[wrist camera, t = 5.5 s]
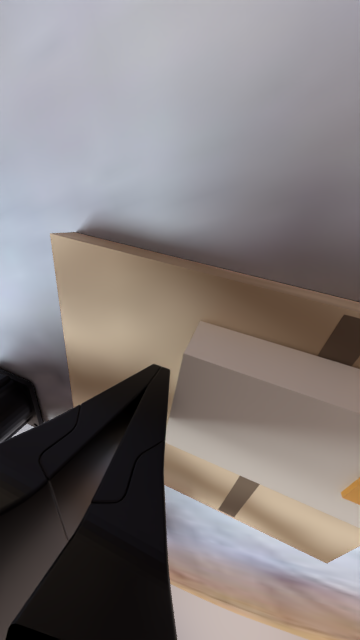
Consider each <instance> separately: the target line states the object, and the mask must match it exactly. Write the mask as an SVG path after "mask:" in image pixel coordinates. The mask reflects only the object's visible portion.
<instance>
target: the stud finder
mask: <svg viewBox="0 0 360 640" xmlns="http://www.w3.org/2000/svg"><path fill="white" fill-rule="evenodd" d="M165 443H167V444H170V445H172V446H174V447H176V448H179V449H181V450H183V451H185V452H188V453H190V454H192V455H194V456H197V457H199V458H201V459H204V460H206V461H208V462H210V463H213V464H215V465H217V466H219V467H222V468H224V469H226V470H229V471H231V472H233V473H235V474H238V475H240V476H242V477H244V478H247V479H249V480H251V481H254V482H256V483H258V484H260V485H263V486H265V487H267V488H269V489H272V490H274V491H276V492H279V493H281V494H283V495H285V496H288V497H290V498H292V499H294V500H297V501H299V502H301V503H304V504H306V505H308V506H310V507H313V508H315V509H317V510H319V511H322V512H324V513H326V514H328V515H331V516H333V517H335V518H338V519H340V520H342V521H344V522H347V523H349V524H351V525H353V526H356V527H358V528H360V369H358V368H355V367H351V366H348V365H345V364H342V363H338V362H335V361H332V360H328V359H325V358H322V357H318V356H315V355H312V354H309V353H305V352H302V351H299V350H295V349H292V348H289V347H285V346H282V345H279V344H276V343H272V342H269V341H266V340H262V339H259V338H256V337H253V336H249V335H246V334H243V333H239V332H236V331H233V330H229V329H226V328H223V327H220V326H216V325H213V324H210V323H206V322H203V321H200V322H199V324H198V326H197V328H196V330H195V332H194V334H193V336H192V338H191V340H190V342H189V344H188V346H187V348H186V350H185V352H184V354H183V358H182V363H181V367H180V371H179V376H178V380H177V385H176V389H175V393H174V398H173V402H172V407H171V411H170V415H169V420H168V424H167V428H166V440H165Z"/></svg>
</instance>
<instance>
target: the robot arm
mask: <svg viewBox="0 0 360 640" xmlns="http://www.w3.org/2000/svg"><path fill="white" fill-rule="evenodd" d="M169 384H170V369H168V368H165V367H162V366H159V365H157V364H152V365H150V366H148V367H147V368H145V369H143V370H141V371H139V372H137V373H136V374H134V375H132V376H130V377H128V378H127V379H125V380H123V381H121V382H119V383H118V384H116V385H114V386H112V387H110V388H109V389H107V390H105V391H103V392H101V393H100V394H98V395H96V396H94V397H92V398H91V399H89V400H87V401H85V402H83V403H82V404H81V405H78V406H76V407H74V408H72V409H70V410H69V411H67V412H65V413H63V414H61V415H59V416H57V417H55V418H53V419H51V420H49V421H47V422H45V423H43V421H42V417H41V413H40V410H39V406H38V402H37V398H36V394H35V391H34V387H33V385H32V384H31V383H30V382H29V381H27V380H25V379H22V378H20V377H18V376H15V375H13V374H11V373H9V372H6V371H4V370H2V369H0V640H177V634H176V627H175V619H174V612H173V604H172V596H171V587H170V578H169V566H168V551H167V532H166V512H165V493H164V456H165V440H166V426H167V412H168V398H169ZM26 424H29V425H31V426H33V427H34V428H32V429H30V430H28V431H25V432H23V433H21V434H19V435H17V436H14V437H12V436H13V435H14V434H16V433H17V432H18V431H19V430H20V429H21V428H22V427H23V426H24V425H26ZM11 437H12V438H11Z"/></svg>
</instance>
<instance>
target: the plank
mask: <svg viewBox="0 0 360 640" xmlns="http://www.w3.org/2000/svg"><path fill="white" fill-rule="evenodd" d="M50 237H51V244H52V252H53V259H54V267H55V274H56V281H57V289H58V296H59V304H60V311H61V319H62V326H63V333H64V341H65V348H66V356H67V363H68V370H69V378H70V385H71V393H72V400H73V408H74V407H76V406H78V405H81V404H82V403H83V402H85V401H87V400H89V399H91V398H92V397H94V396H96V395H98V394H100V393H101V392H103V391H105V390H107V389H109V388H110V387H112V386H114V385H116V384H118V383H119V382H121V381H123V380H125V379H127V378H128V377H130V376H132V375H134V374H136V373H137V372H139V371H141V370H143V369H145V368H147V367H148V366H150V365H152V364H157V365H159V366H162V367H165V368H168V369H170V384H169V398H168V412H167V424H168V420H169V415H170V411H171V407H172V402H173V398H174V393H175V389H176V385H177V380H178V376H179V371H180V367H181V363H182V358H183V354H184V352H185V350H186V348H187V346H188V344H189V342H190V340H191V338H192V336H193V334H194V332H195V330H196V328H197V326H198V324H199V322H200V321H203V322H206V323H210V324H213V325H216V326H220V327H223V328H226V329H229V330H233V331H236V332H239V333H243V334H246V335H249V336H253V337H256V338H259V339H262V340H266V341H269V342H272V343H276V344H279V345H282V346H285V347H289V348H292V349H295V350H299V351H302V352H305V353H309V354H312V355H315V356H318V357H322V358H325V359H328V360H332V361H335V362H338V363H342V364H345V365H348V366H351V367H355V368H358V369H360V302H356V301H352V300H348V299H344V298H340V297H336V296H332V295H328V294H324V293H320V292H315V291H311V290H307V289H303V288H299V287H295V286H291V285H287V284H283V283H279V282H275V281H271V280H267V279H263V278H259V277H255V276H250V275H246V274H242V273H238V272H234V271H230V270H226V269H222V268H218V267H214V266H210V265H206V264H202V263H198V262H194V261H190V260H185V259H181V258H177V257H173V256H169V255H165V254H161V253H157V252H153V251H149V250H145V249H141V248H137V247H133V246H129V245H125V244H120V243H116V242H112V241H108V240H104V239H100V238H96V237H92V236H88V235H84V234H80V233H76V232H70V233H51V234H50ZM166 428H167V426H166ZM164 485H166V486H168V487H170V488H172V489H174V490H176V491H178V492H180V493H182V494H184V495H187V496H189V497H191V498H193V499H195V500H197V501H199V502H201V503H203V504H205V505H207V506H209V507H211V508H213V509H215V510H218V511H220V512H222V513H224V514H226V515H228V516H230V517H232V518H234V519H236V520H238V521H240V522H242V523H244V524H246V525H248V526H251V527H253V528H255V529H257V530H259V531H261V532H263V533H265V534H267V535H269V536H271V537H273V538H275V539H277V540H279V541H282V542H284V543H286V544H288V545H290V546H292V547H294V548H296V549H298V550H300V551H302V552H304V553H306V554H308V555H310V556H313V557H315V558H317V559H319V560H321V561H323V562H325V563H328V562H330V561H332V560H334V559H336V558H338V557H340V556H342V555H344V554H346V553H348V552H349V551H351V550H353V549H355V548H357V547H359V546H360V528H358V527H356V526H353V525H351V524H349V523H347V522H344V521H342V520H340V519H338V518H335V517H333V516H331V515H328V514H326V513H324V512H322V511H319V510H317V509H315V508H313V507H310V506H308V505H306V504H304V503H301V502H299V501H297V500H294V499H292V498H290V497H288V496H285V495H283V494H281V493H279V492H276V491H274V490H272V489H269V488H267V487H265V486H263V485H260V484H258V483H256V482H254V481H251V480H249V479H247V478H244V477H242V476H240V475H238V474H235V473H233V472H231V471H229V470H226V469H224V468H222V467H219V466H217V465H215V464H213V463H210V462H208V461H206V460H204V459H201V458H199V457H197V456H194V455H192V454H190V453H188V452H185V451H183V450H181V449H179V448H176V447H174V446H172V445H170V444H167V443H165V456H164Z"/></svg>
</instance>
